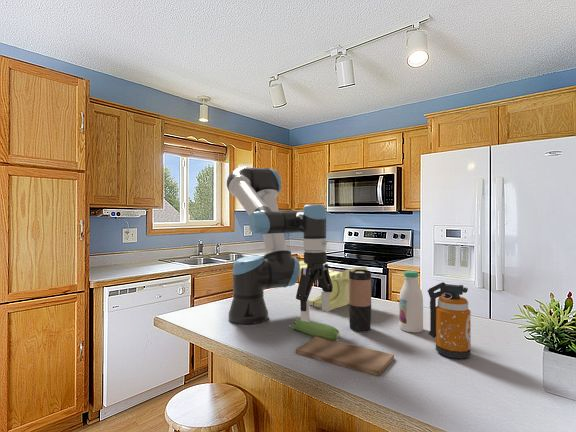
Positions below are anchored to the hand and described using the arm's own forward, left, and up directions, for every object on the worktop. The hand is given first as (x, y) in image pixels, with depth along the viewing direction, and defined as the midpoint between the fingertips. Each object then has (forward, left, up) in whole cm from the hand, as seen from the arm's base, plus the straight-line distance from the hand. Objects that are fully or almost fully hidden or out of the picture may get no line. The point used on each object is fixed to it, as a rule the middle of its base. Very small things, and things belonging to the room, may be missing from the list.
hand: (315, 315), depth 111 cm
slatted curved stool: (-14, +37, -7) cm, 40 cm away
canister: (+39, +9, -7) cm, 40 cm away
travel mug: (+10, +14, -7) cm, 18 cm away
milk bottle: (+25, +23, -7) cm, 34 cm away
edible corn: (-1, 0, -7) cm, 7 cm away
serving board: (+15, -10, -6) cm, 19 cm away
